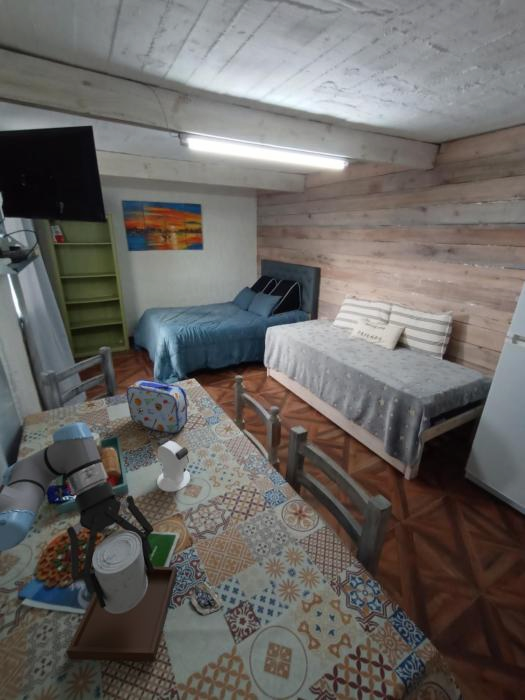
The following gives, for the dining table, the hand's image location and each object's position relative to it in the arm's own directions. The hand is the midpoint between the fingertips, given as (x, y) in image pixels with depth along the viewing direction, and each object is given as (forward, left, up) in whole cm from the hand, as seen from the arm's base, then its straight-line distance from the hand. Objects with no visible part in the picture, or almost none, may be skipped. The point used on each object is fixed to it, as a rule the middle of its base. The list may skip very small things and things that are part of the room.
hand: (128, 588), depth 67 cm
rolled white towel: (-3, 0, -4) cm, 5 cm away
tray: (-3, 0, -12) cm, 12 cm away
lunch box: (-64, +46, -12) cm, 80 cm away
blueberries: (+8, +14, -12) cm, 20 cm away
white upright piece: (-31, +31, -12) cm, 46 cm away
